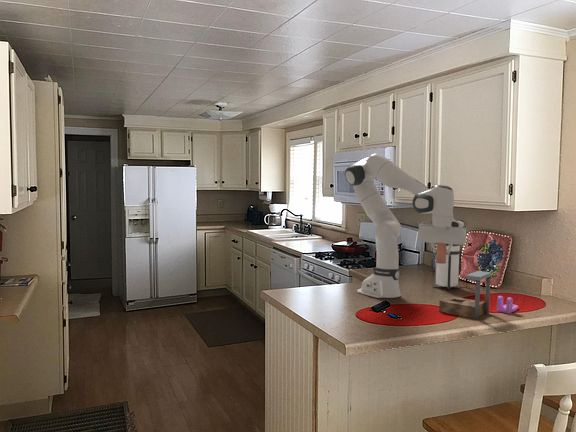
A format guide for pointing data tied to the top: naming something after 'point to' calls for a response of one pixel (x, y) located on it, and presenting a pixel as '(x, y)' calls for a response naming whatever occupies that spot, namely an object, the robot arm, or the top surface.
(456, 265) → the coffee press
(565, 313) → the top surface
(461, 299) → the socket block
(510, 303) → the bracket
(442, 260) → the peg
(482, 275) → the grey legged stand
